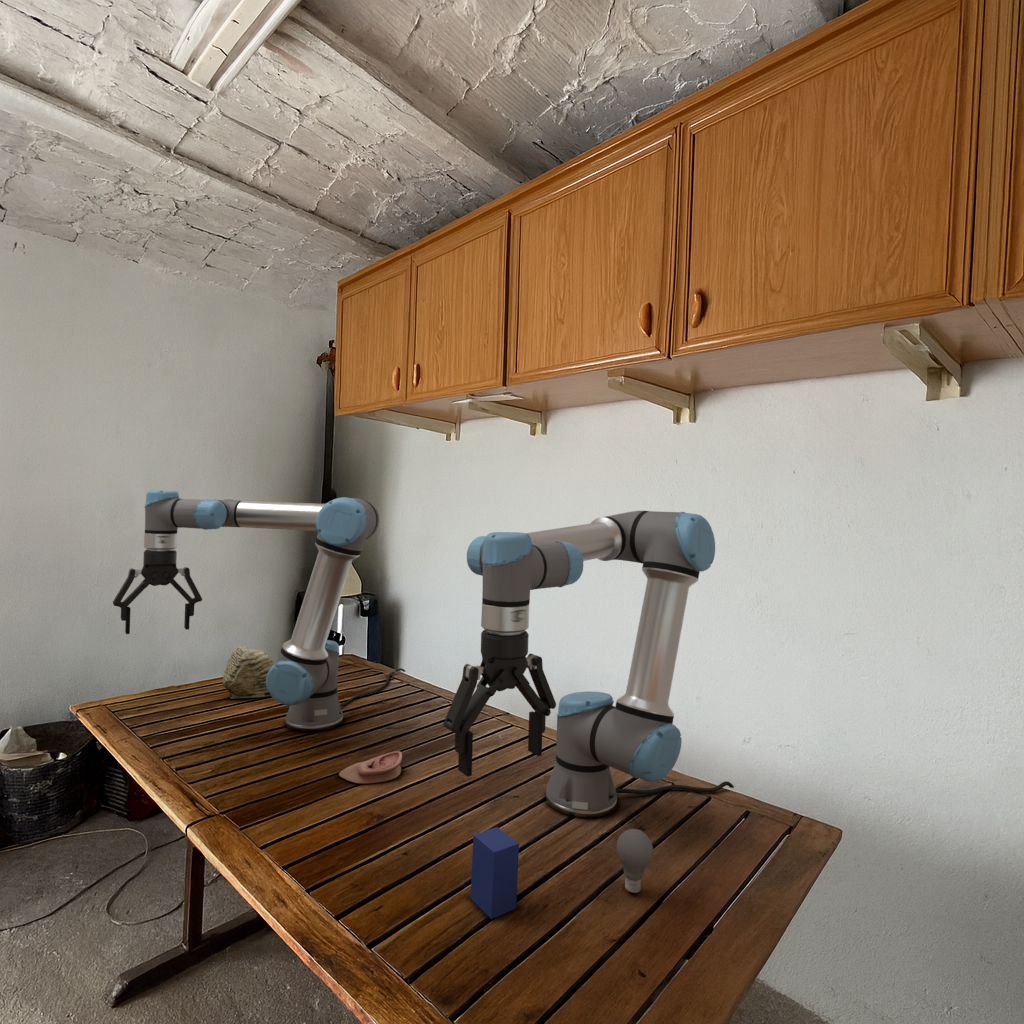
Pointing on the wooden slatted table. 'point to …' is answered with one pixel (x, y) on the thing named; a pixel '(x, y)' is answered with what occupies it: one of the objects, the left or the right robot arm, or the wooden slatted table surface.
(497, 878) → the brick
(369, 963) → the wooden slatted table surface
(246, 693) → the fossil
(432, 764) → the wooden slatted table surface
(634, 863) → the light bulb
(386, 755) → the anatomical model
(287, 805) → the wooden slatted table surface
